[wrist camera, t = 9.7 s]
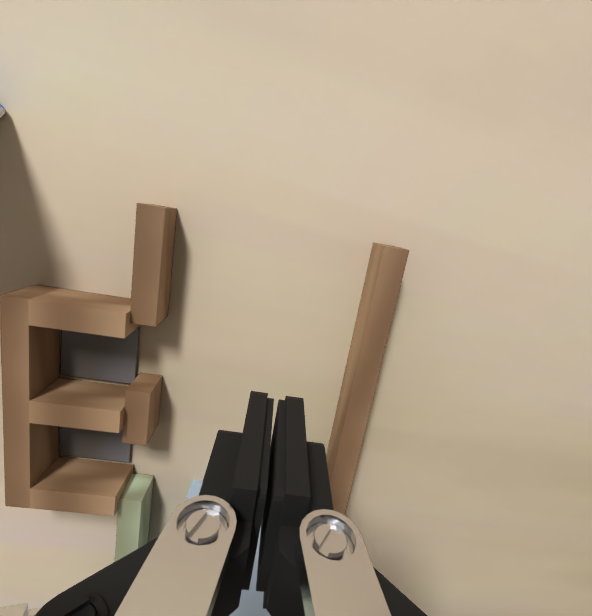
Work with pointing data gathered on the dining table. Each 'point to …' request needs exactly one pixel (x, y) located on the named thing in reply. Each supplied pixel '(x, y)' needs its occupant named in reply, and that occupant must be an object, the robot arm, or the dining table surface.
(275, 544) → the robot arm
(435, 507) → the dining table surface
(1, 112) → the medicine box
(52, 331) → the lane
